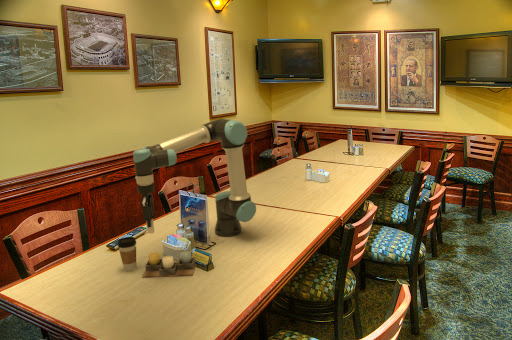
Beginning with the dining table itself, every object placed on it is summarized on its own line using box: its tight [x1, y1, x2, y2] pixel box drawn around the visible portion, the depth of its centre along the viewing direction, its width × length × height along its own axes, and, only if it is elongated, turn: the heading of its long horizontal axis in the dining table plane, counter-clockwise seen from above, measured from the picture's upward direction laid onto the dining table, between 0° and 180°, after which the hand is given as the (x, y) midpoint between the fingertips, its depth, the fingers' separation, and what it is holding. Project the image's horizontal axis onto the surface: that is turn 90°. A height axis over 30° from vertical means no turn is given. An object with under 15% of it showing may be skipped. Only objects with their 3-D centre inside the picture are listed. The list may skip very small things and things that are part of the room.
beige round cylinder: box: [161, 255, 174, 269], centre depth 203 cm, size 5×5×4 cm
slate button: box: [179, 250, 192, 264], centre depth 207 cm, size 5×5×4 cm
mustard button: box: [147, 252, 161, 265], centre depth 207 cm, size 5×5×4 cm
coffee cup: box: [117, 236, 138, 272], centre depth 209 cm, size 8×8×15 cm
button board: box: [141, 256, 197, 279], centre depth 206 cm, size 23×13×3 cm, turn 89°
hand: (151, 232), depth 204 cm, fingers closed
